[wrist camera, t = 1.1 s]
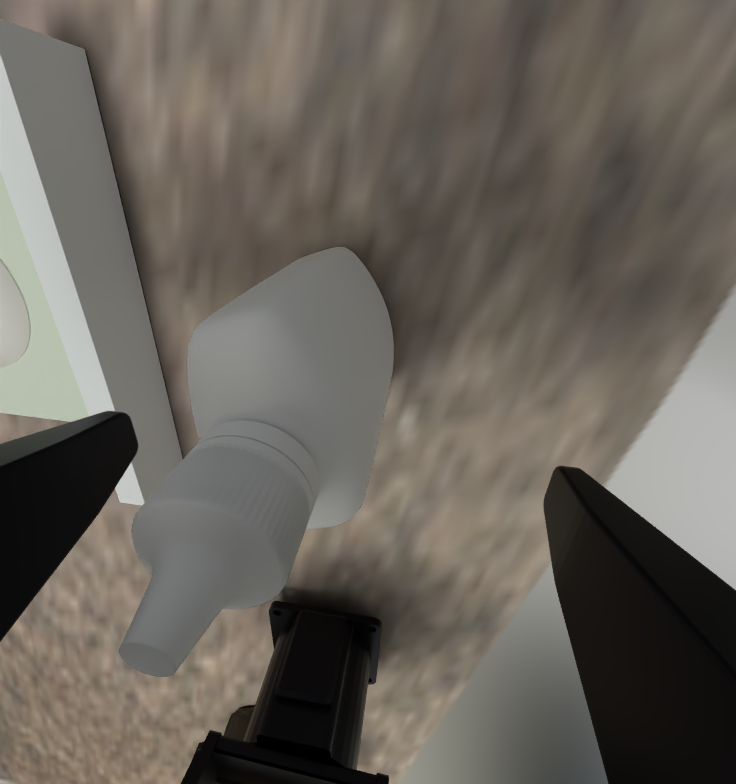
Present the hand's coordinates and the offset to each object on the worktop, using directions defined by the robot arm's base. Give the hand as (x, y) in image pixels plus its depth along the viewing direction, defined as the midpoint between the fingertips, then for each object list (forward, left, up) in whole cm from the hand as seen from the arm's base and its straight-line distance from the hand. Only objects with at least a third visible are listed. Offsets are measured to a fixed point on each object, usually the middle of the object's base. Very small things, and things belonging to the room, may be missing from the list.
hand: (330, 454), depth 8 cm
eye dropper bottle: (0, +1, -8) cm, 8 cm away
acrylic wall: (0, +10, -8) cm, 13 cm away
